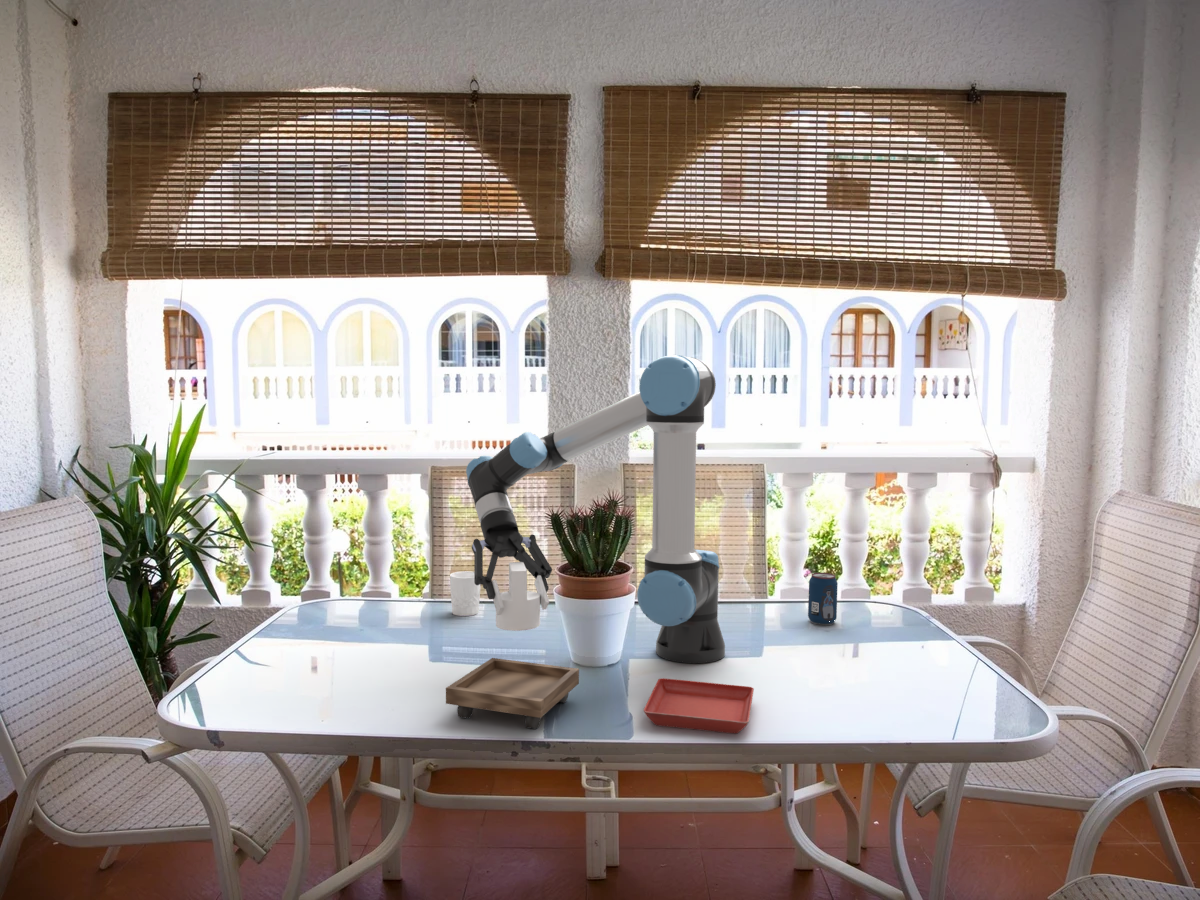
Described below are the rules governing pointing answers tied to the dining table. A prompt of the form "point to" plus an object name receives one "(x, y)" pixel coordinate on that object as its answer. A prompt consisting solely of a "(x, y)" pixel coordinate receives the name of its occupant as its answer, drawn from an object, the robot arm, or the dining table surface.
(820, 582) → the soda can
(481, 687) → the cart
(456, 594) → the white cup
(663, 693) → the plant saucer
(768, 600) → the dining table surface
